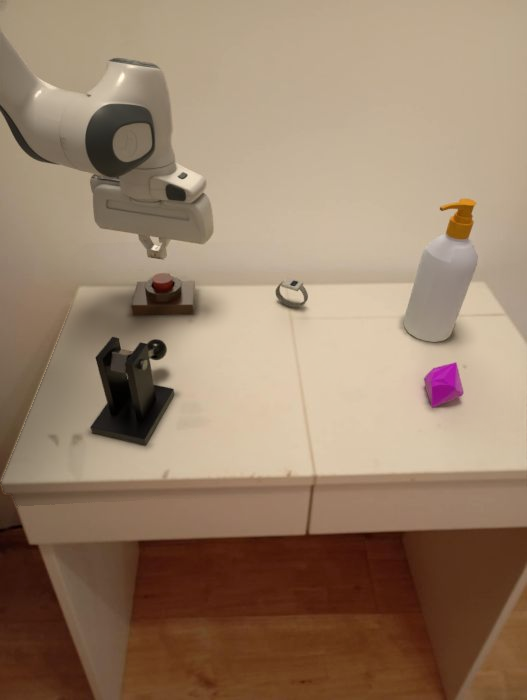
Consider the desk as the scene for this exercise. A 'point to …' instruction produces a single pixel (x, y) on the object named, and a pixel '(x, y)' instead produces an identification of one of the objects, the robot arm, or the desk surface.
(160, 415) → the black lever stand
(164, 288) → the button
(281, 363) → the desk surface
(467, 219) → the soap bottle
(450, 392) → the crystal
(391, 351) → the desk surface
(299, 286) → the wristwatch
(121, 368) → the ball knob lever
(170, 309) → the panel
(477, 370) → the desk surface
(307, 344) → the desk surface
